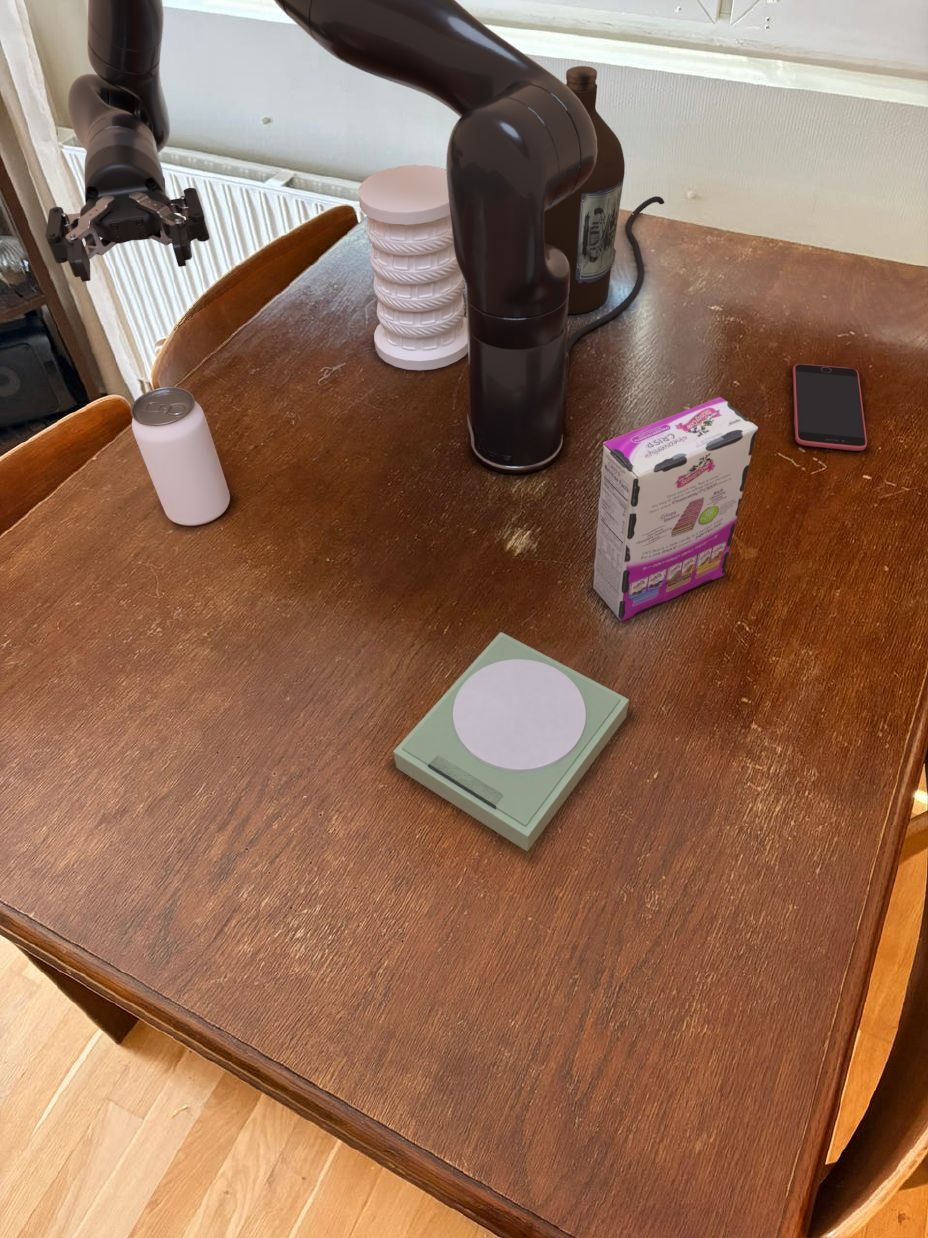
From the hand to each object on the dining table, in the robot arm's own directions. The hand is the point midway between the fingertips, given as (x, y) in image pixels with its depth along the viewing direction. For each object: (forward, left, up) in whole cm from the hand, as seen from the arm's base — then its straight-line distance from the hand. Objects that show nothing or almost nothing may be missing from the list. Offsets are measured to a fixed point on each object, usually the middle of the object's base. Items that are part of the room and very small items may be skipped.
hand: (131, 264), depth 80 cm
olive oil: (-46, +18, -20) cm, 54 cm away
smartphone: (-41, +53, -20) cm, 70 cm away
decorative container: (-28, +9, -20) cm, 36 cm away
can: (+7, +8, -20) cm, 23 cm away
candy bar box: (-9, +50, -20) cm, 55 cm away
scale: (+12, +49, -20) cm, 54 cm away
